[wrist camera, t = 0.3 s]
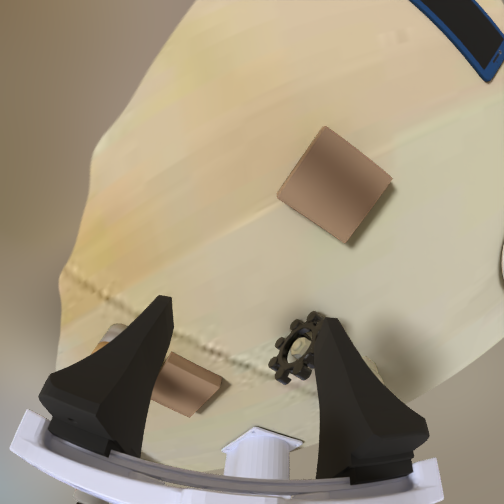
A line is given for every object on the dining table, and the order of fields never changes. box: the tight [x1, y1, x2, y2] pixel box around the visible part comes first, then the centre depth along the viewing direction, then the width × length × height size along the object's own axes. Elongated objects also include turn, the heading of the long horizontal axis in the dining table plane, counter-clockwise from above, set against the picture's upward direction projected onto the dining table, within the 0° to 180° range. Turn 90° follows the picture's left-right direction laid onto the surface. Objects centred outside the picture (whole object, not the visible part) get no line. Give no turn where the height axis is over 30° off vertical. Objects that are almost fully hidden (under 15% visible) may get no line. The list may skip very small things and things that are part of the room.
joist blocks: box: [151, 126, 393, 418], centre depth 25 cm, size 33×6×2 cm, turn 148°
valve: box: [268, 311, 384, 385], centre depth 24 cm, size 7×7×12 cm
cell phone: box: [409, 0, 504, 82], centre depth 13 cm, size 7×14×1 cm, turn 53°
